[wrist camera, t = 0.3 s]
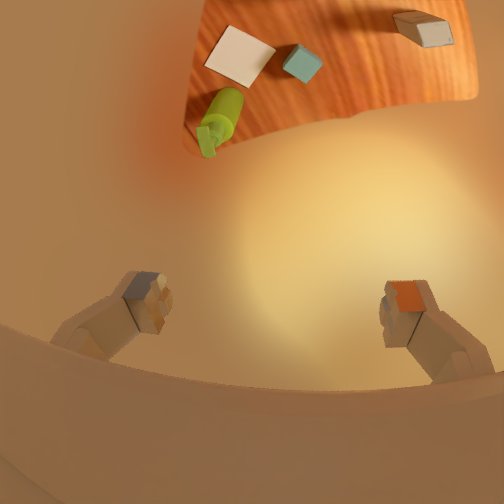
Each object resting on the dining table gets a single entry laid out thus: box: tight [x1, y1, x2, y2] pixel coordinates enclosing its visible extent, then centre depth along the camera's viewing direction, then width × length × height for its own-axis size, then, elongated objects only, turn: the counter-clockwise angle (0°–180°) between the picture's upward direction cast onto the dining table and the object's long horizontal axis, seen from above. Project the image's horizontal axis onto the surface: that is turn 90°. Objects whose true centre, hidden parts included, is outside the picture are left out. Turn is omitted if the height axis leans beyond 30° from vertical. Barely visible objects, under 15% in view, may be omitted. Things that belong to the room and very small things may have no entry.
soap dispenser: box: [196, 87, 244, 158], centre depth 47 cm, size 6×7×20 cm
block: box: [283, 44, 323, 83], centre depth 43 cm, size 5×5×5 cm
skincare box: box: [393, 11, 454, 48], centre depth 29 cm, size 6×4×12 cm
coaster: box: [204, 25, 276, 88], centre depth 45 cm, size 10×10×1 cm
